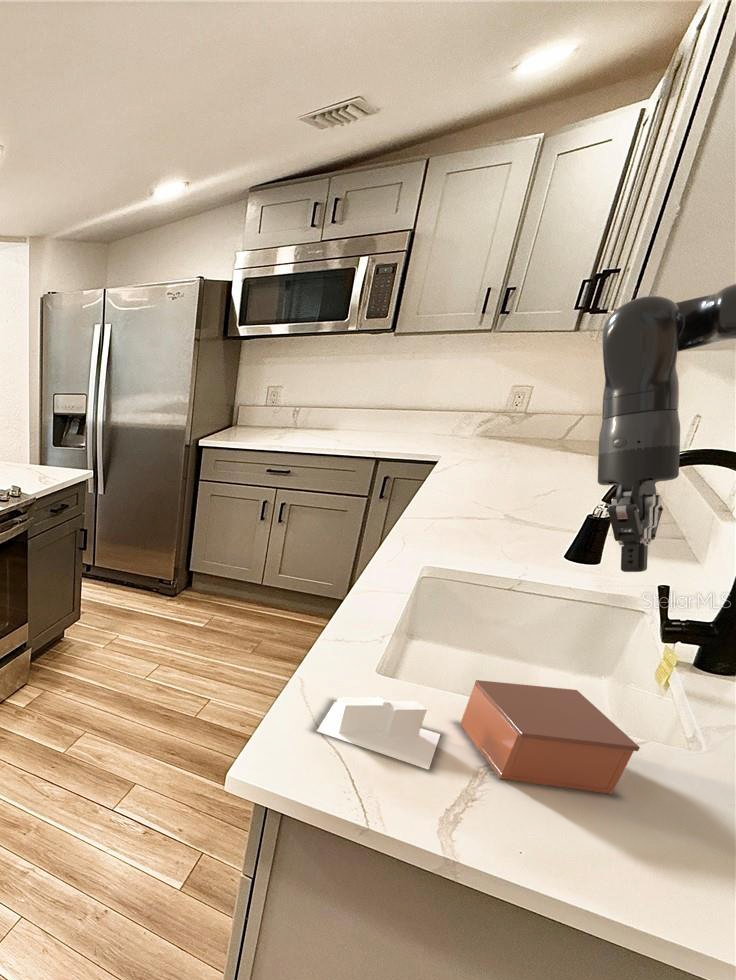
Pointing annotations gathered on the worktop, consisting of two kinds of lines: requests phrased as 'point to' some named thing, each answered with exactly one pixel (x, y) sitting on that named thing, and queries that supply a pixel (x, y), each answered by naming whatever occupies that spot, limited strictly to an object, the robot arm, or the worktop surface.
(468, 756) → the worktop surface
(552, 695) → the lid
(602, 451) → the robot arm
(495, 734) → the reddish brown box
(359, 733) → the napkin holder
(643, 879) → the worktop surface
